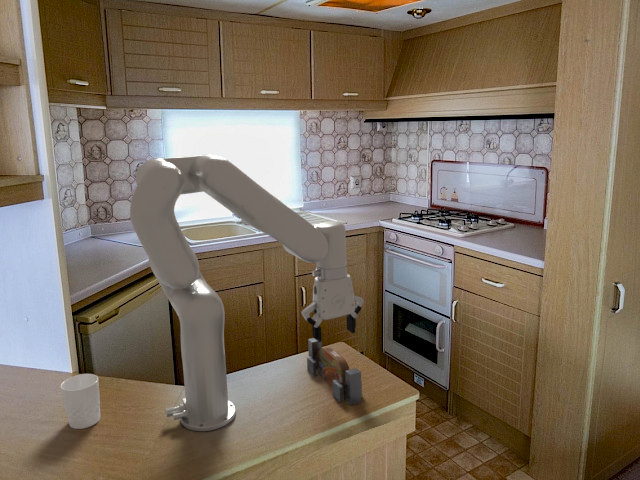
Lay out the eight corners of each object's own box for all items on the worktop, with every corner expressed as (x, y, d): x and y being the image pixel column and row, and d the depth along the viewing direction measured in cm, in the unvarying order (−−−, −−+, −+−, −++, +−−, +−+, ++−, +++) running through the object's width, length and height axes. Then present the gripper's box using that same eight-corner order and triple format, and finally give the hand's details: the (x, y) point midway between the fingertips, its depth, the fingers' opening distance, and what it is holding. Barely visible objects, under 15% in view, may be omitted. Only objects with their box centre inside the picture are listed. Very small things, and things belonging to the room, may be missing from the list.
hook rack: (344, 407, 123) (344, 376, 121) (303, 367, 143) (302, 340, 142) (366, 400, 126) (366, 370, 124) (323, 362, 146) (323, 335, 144)
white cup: (103, 408, 125) (98, 371, 122) (102, 426, 117) (97, 386, 115) (67, 416, 122) (62, 377, 120) (64, 434, 115) (58, 393, 112)
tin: (316, 372, 141) (315, 343, 139) (326, 369, 142) (325, 341, 140) (341, 397, 127) (340, 366, 125) (352, 394, 128) (352, 363, 127)
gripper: (306, 282, 121) (310, 349, 125) (369, 269, 128) (371, 333, 132) (293, 274, 127) (297, 338, 131) (354, 262, 135) (356, 323, 139)
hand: (334, 335), depth 132 cm, fingers open, 9 cm apart
